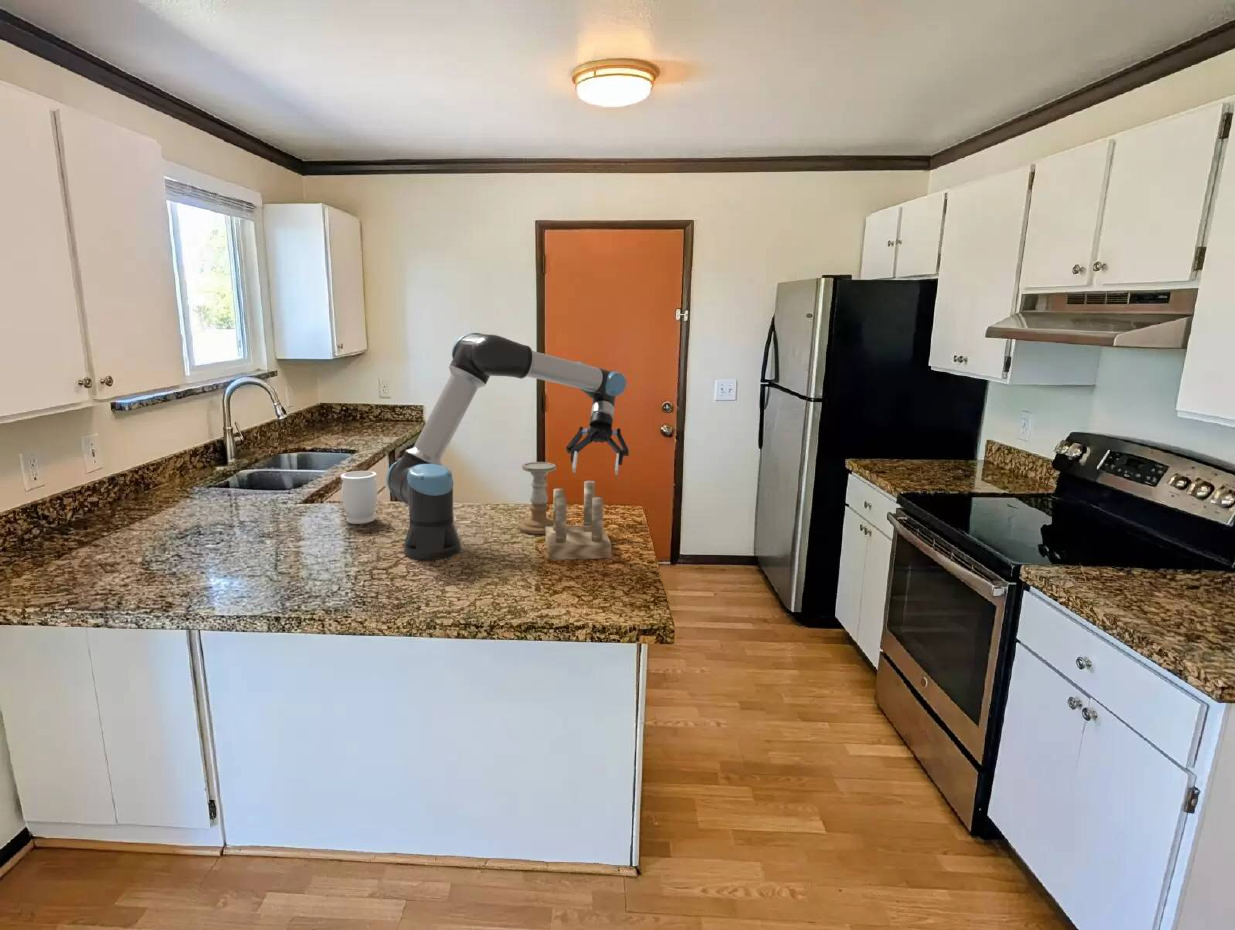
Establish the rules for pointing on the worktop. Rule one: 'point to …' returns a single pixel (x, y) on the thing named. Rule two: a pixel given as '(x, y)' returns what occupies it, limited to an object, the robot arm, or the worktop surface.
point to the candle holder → (537, 498)
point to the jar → (359, 496)
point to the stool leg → (588, 501)
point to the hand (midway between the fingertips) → (594, 471)
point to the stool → (576, 533)
